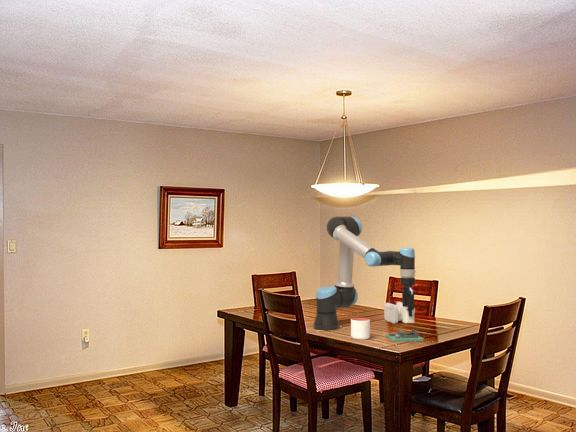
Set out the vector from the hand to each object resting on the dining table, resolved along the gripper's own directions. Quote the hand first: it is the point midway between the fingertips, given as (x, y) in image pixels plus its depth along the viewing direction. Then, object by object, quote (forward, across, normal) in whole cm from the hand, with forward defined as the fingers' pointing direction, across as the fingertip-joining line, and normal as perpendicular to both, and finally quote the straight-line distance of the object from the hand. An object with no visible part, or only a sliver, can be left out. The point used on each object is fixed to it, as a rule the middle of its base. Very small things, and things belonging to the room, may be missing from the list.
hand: (408, 321), depth 293 cm
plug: (0, 0, 0) cm, 0 cm away
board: (+9, 0, +2) cm, 9 cm away
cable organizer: (+9, +48, -9) cm, 50 cm away
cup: (+9, +4, +25) cm, 27 cm away
